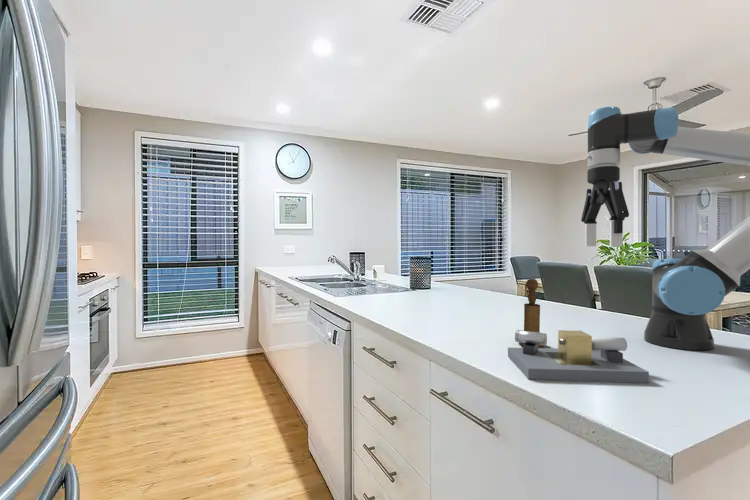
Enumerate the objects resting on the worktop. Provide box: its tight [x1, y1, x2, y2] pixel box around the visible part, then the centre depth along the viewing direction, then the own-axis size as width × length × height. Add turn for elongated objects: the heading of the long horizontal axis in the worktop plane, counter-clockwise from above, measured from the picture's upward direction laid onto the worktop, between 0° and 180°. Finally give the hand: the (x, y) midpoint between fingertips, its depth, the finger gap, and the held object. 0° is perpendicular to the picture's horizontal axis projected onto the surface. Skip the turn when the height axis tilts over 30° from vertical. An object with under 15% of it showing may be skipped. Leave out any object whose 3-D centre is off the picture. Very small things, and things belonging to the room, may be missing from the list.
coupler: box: [557, 329, 593, 365], centre depth 85 cm, size 6×5×7 cm
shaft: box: [514, 329, 548, 355], centre depth 90 cm, size 6×4×5 cm
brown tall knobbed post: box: [518, 278, 546, 348], centre depth 104 cm, size 7×6×18 cm
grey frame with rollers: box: [507, 336, 650, 384], centre depth 85 cm, size 23×16×7 cm
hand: (602, 246), depth 104 cm, fingers open, 13 cm apart
